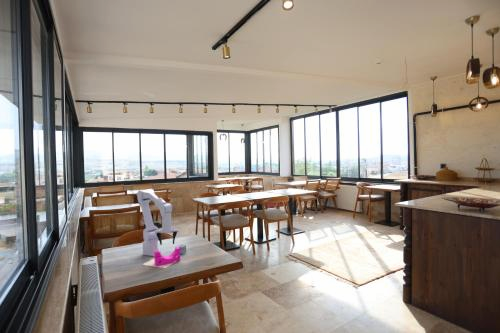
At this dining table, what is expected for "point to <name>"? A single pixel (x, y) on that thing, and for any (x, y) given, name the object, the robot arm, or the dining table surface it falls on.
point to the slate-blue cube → (182, 248)
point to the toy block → (166, 257)
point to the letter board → (152, 263)
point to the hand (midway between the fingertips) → (167, 244)
